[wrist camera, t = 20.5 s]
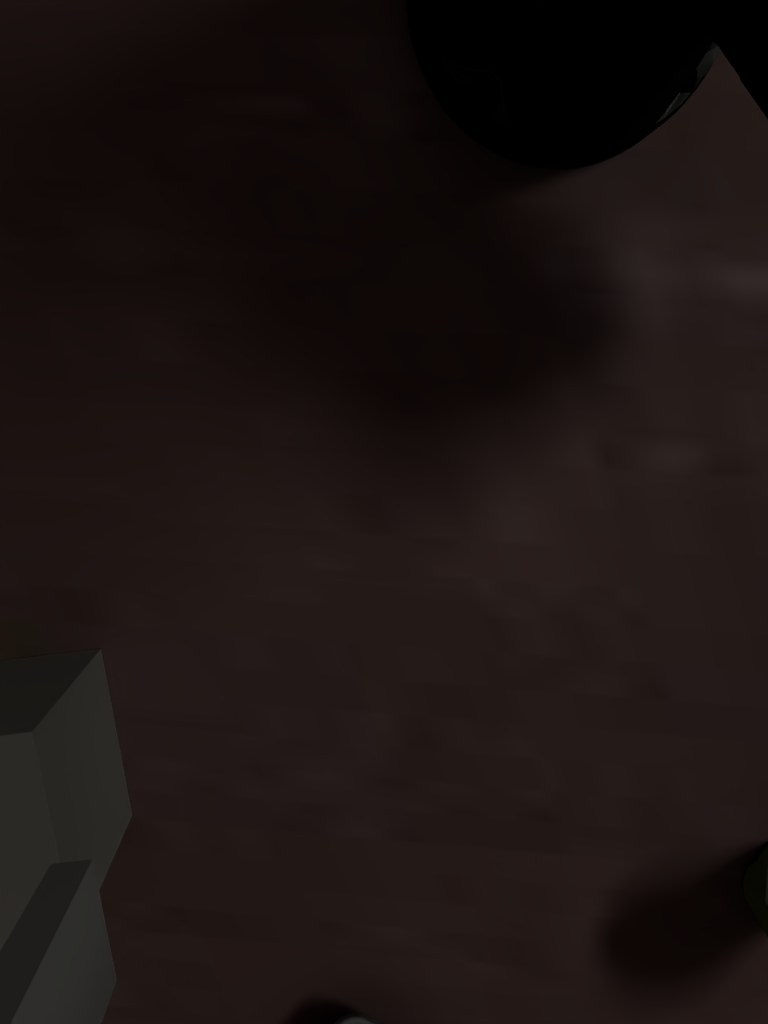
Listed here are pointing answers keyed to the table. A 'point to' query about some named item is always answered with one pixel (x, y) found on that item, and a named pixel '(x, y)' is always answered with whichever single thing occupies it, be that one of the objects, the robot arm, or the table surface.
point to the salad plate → (356, 1019)
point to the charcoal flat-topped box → (56, 773)
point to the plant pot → (757, 888)
